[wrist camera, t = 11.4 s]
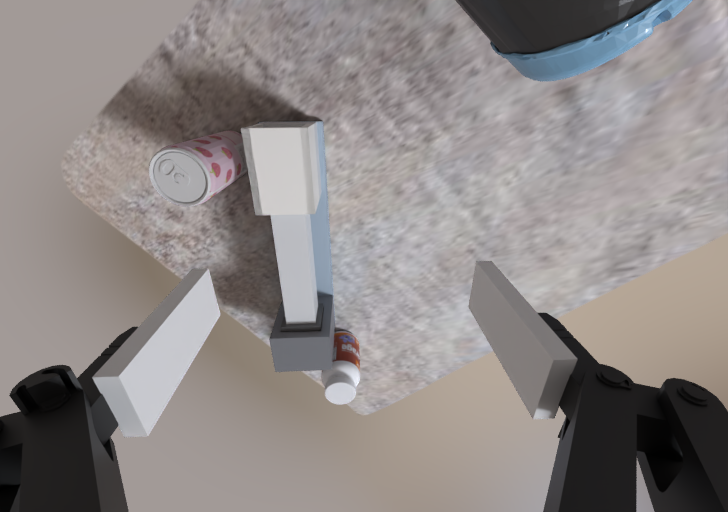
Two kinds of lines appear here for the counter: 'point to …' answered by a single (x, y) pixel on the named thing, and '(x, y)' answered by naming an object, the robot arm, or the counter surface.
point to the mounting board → (321, 227)
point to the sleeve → (283, 167)
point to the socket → (304, 343)
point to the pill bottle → (343, 369)
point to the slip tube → (297, 273)
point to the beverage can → (198, 167)
